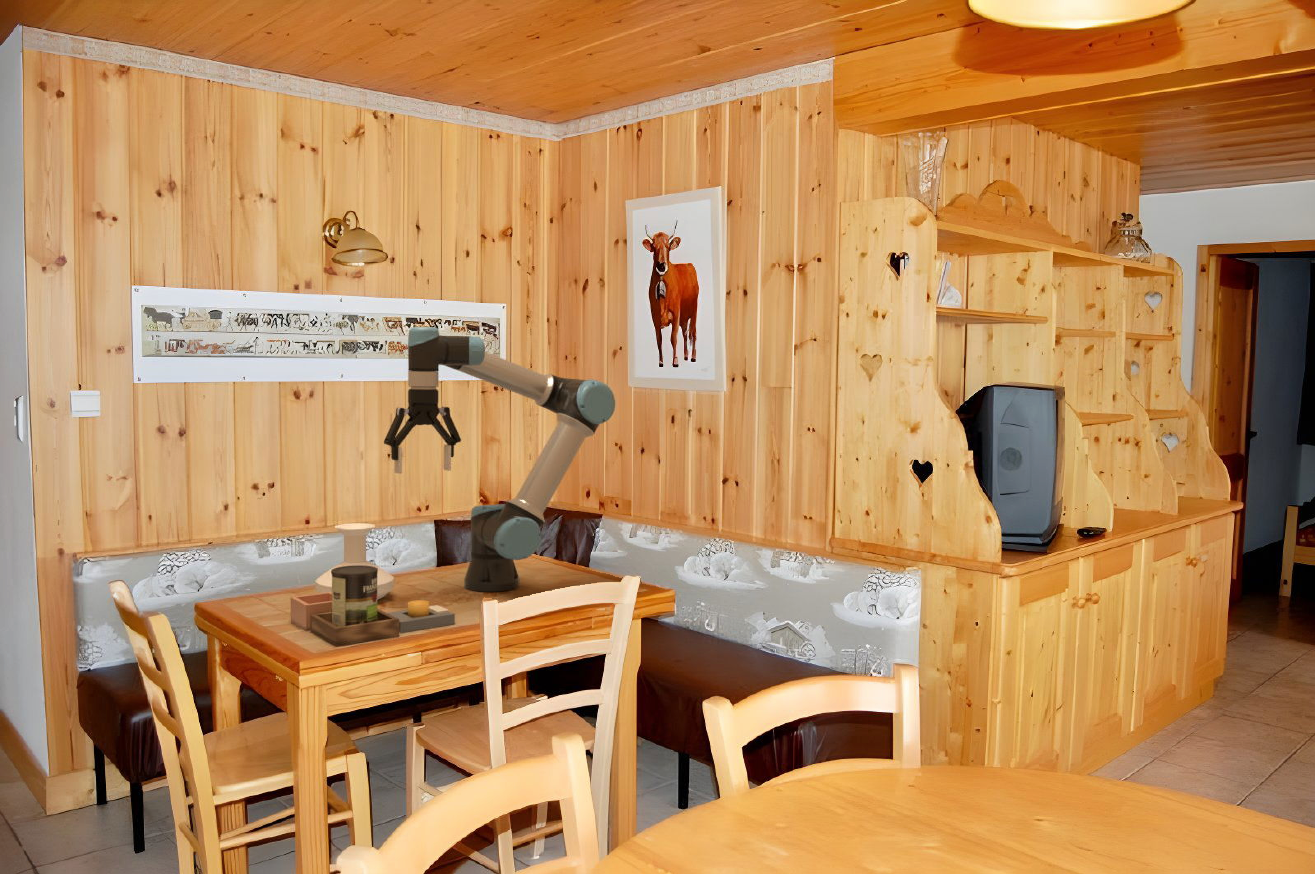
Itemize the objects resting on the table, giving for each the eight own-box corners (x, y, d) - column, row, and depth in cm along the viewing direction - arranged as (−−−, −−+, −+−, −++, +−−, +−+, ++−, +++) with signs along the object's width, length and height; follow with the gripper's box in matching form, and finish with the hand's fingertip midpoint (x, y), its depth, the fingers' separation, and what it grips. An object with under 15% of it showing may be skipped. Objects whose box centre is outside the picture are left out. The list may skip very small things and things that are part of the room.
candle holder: (315, 592, 283) (314, 521, 281) (391, 588, 289) (391, 519, 287) (315, 609, 264) (314, 534, 262) (396, 605, 270) (396, 531, 268)
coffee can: (385, 625, 246) (385, 566, 245) (364, 636, 236) (364, 575, 235) (345, 622, 248) (345, 563, 247) (322, 633, 238) (322, 572, 237)
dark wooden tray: (371, 622, 252) (371, 606, 252) (399, 636, 241) (399, 619, 241) (310, 631, 243) (310, 614, 243) (335, 646, 231) (335, 628, 231)
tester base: (435, 615, 260) (435, 603, 260) (454, 624, 252) (454, 611, 252) (382, 623, 251) (382, 610, 251) (400, 632, 244) (400, 619, 243)
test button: (423, 615, 255) (423, 599, 255) (432, 619, 252) (432, 603, 251) (404, 618, 252) (404, 601, 252) (413, 622, 248) (413, 606, 248)
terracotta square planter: (331, 615, 258) (331, 591, 257) (347, 624, 250) (347, 599, 250) (290, 621, 252) (290, 597, 251) (306, 630, 244) (305, 605, 243)
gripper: (460, 387, 276) (459, 467, 278) (370, 387, 261) (370, 472, 262) (474, 388, 271) (473, 470, 272) (383, 389, 255) (383, 475, 257)
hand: (423, 471), depth 267 cm, fingers open, 13 cm apart
